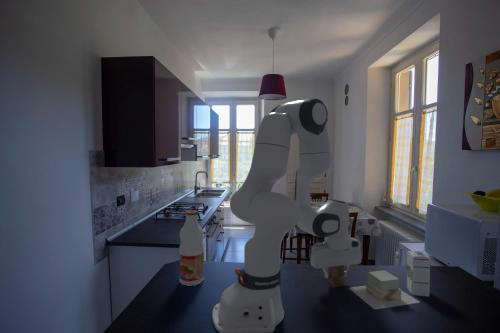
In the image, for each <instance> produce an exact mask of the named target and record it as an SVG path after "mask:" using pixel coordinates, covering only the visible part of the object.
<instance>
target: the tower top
mask: <svg viewBox="0 0 500 333" xmlns="http://www.w3.org/2000/svg"><path fill="white" fill-rule="evenodd" d="M367 281H368V282H369V283H371V284H372V285H373V286H375V287H376V288H378V289H379V290H381V291H388V290H395V289H399V288H400V278H399V277H396V276H395V275H393V274H392V273H390V272H388V271H386V269H385V270H376V271H369V272H367Z"/></svg>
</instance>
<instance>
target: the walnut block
mask: <svg viewBox="0 0 500 333" xmlns="http://www.w3.org/2000/svg"><path fill="white" fill-rule="evenodd" d="M344 270H345V266H336V267H328V270H327V272H329V273H330V274H331V276H330V278H326V279H327V280H326V282H327V283H328V284H329V285H330V286H332V287H333V288H339V287H345V276H344Z"/></svg>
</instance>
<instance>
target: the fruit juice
mask: <svg viewBox="0 0 500 333" xmlns="http://www.w3.org/2000/svg"><path fill="white" fill-rule="evenodd" d="M184 212H185V213H184V215H185V221H184V224H183V226H182V228H180V231H179V239H180V244H179V253H178V254H179V256H178V257H179V283H181V284H183V285H187V286H192V285H197V284H200V283H201V282H202V281H203V280H205V244H204V242H203V239H204V229H203V228H202V226H201V225H200V223H199V221H198V215H199V212H198V210H196V209H195V210H194V209H192V210H191V209H190V210H185V211H184ZM203 282H204V281H203ZM203 282H202V283H203ZM202 283H201V284H202ZM181 284H180V285H181ZM201 284H200V285H201ZM183 285H182V286H183Z"/></svg>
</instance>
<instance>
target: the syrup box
mask: <svg viewBox="0 0 500 333" xmlns="http://www.w3.org/2000/svg"><path fill="white" fill-rule="evenodd" d="M406 253H407V254H406V289H407V290H408V292H410V294H411V295H412V296H418V297H419V296H421V297H430V290H431V289H430V287H431V285H430V282H431V281H430V280H431V257H430V256H428V254H426V253H425V252H424V251H419V250H407V251H406Z"/></svg>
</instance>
